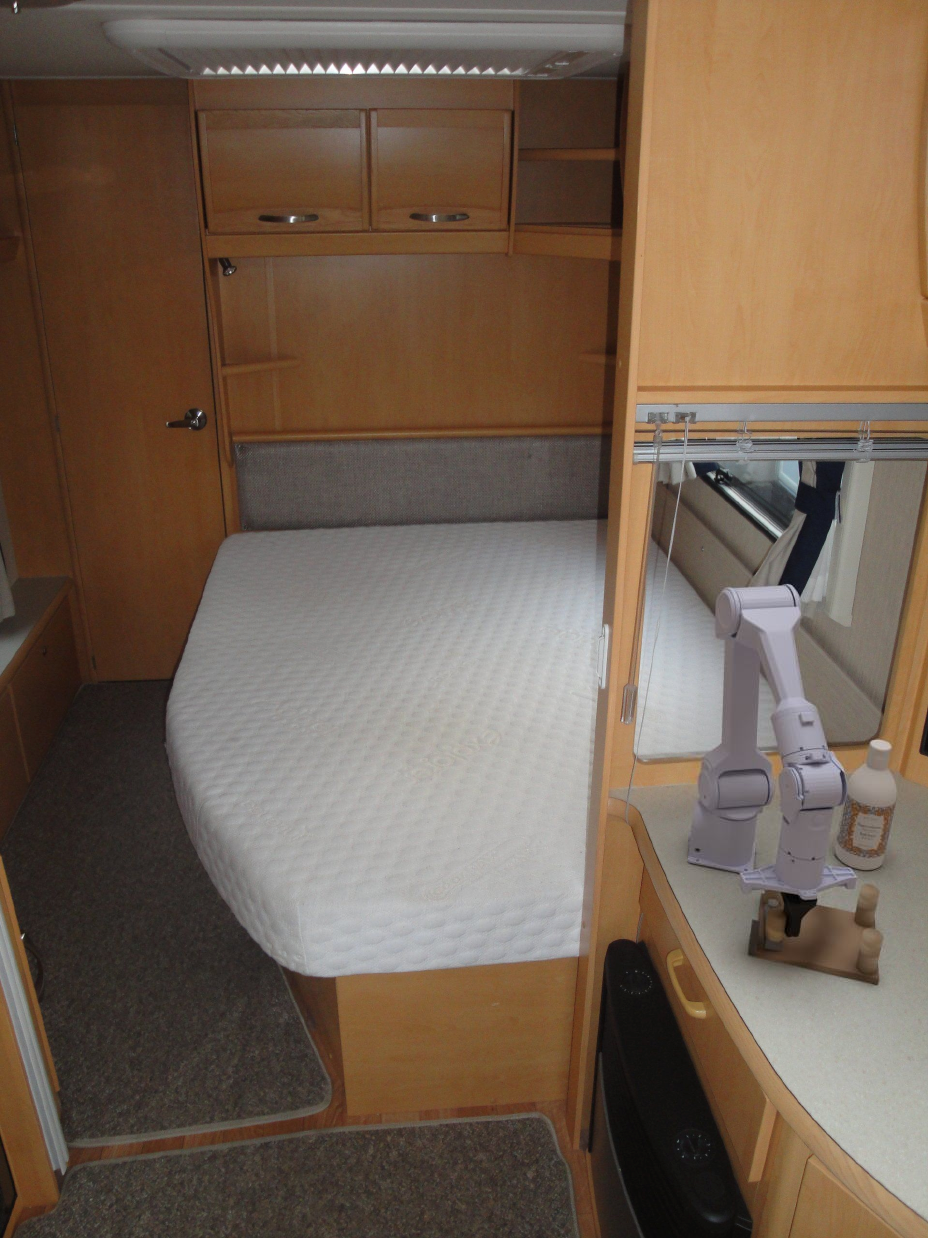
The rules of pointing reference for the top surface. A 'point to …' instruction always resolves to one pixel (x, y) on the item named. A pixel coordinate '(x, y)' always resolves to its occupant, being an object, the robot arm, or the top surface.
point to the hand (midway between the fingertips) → (789, 932)
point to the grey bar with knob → (774, 925)
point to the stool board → (828, 938)
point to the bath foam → (868, 811)
